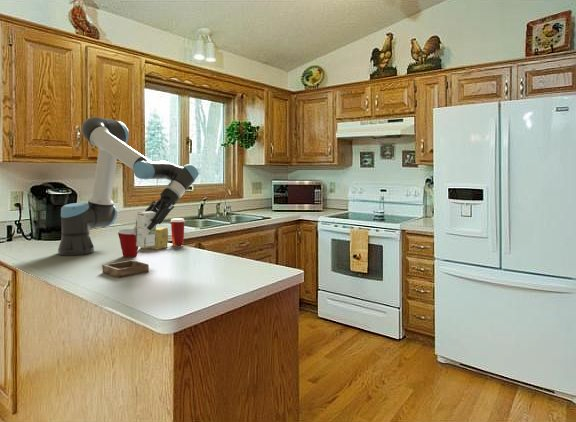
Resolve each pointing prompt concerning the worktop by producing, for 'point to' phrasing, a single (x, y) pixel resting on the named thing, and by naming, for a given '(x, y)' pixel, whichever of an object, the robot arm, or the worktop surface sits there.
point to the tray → (125, 268)
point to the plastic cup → (128, 242)
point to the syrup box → (141, 222)
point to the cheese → (160, 238)
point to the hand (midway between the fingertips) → (137, 234)
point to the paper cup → (177, 231)
